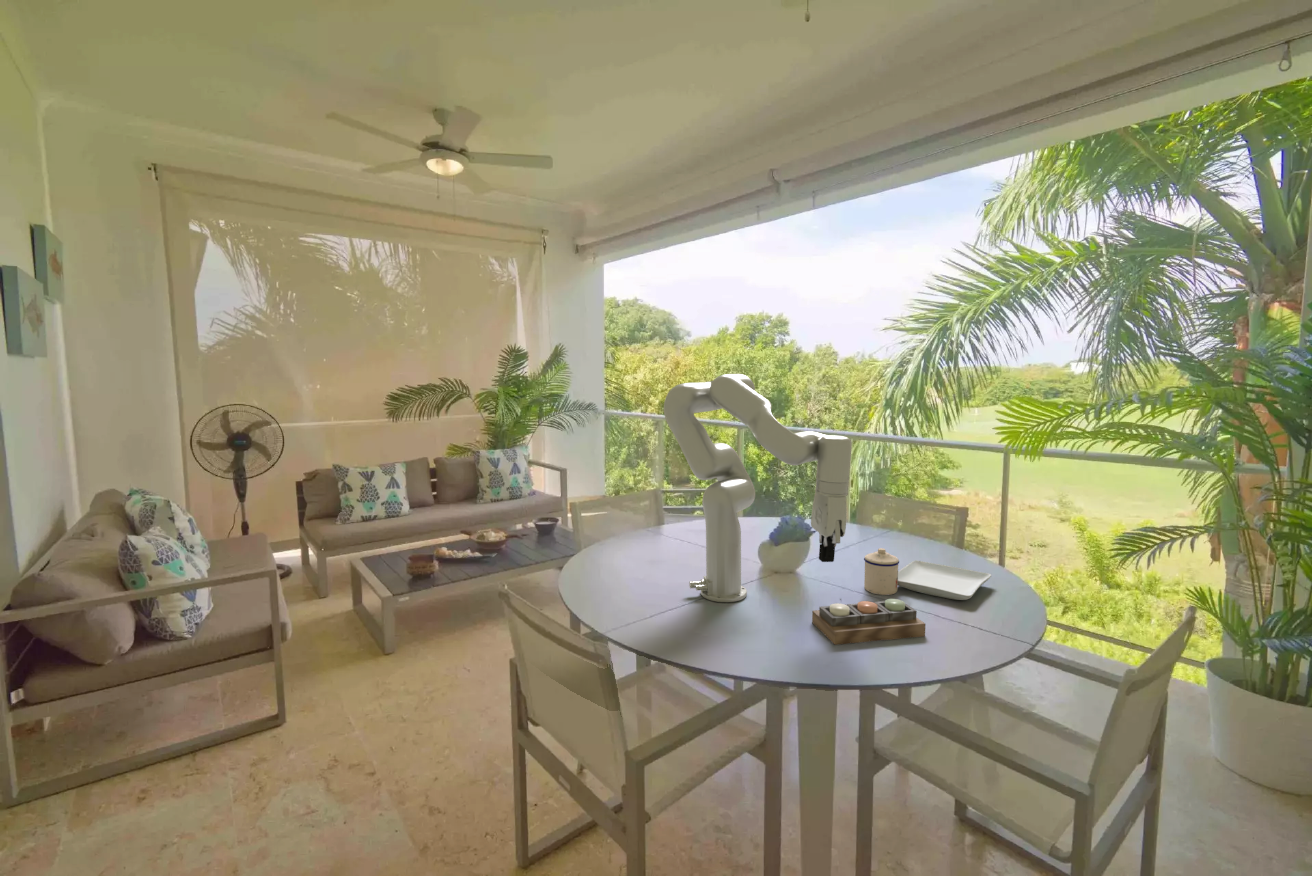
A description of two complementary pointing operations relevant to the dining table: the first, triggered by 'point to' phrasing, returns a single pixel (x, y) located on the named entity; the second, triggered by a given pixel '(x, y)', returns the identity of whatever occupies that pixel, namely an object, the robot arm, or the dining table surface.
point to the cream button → (839, 609)
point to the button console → (868, 624)
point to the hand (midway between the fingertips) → (826, 560)
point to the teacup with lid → (881, 573)
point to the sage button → (894, 605)
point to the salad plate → (941, 580)
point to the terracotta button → (867, 607)
